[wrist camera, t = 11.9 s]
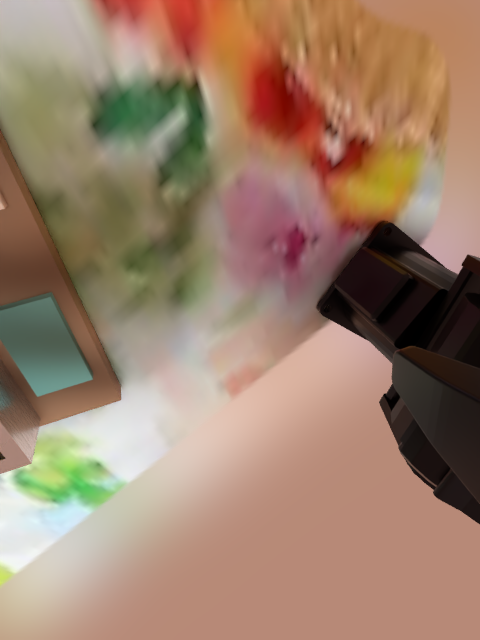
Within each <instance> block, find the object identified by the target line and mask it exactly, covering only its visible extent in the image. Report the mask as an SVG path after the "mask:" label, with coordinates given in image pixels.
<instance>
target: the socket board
mask: <svg viewBox="0 0 480 640" xmlns="http://www.w3.org/2000/svg"><path fill="white" fill-rule="evenodd" d="M0 358H1V360H2V361H3V363H4V364H5V366H6V367H7V369H8V370H9V372H10V373H11V375H12V376H13V378H14V379H15V381H16V382H17V384H18V385H19V387H20V388H21V390H22V391H23V393H24V394H25V396H26V397H27V399H28V400H29V402H30V403H31V405H32V406H33V408H34V409H35V411H36V412H37V414H38V415H39V417H40V418H41V420H40V425H39V426H43V425H46V424H49V423H52V422H55V421H58V420H61V419H64V418H67V417H70V416H73V415H76V414H79V413H82V412H86V411H89V410H92V409H95V408H98V407H101V406H104V405H107V404H110V403H113V402H116V401H119V400H121V386H120V384H119V382H118V380H117V377H116V375H115V373H114V371H113V369H112V367H111V365H110V362H109V360H108V358H107V356H106V354H105V352H104V350H103V348H102V345H101V343H100V341H99V339H98V337H97V335H96V333H95V330H94V328H93V326H92V324H91V322H90V320H89V318H88V316H87V313H86V311H85V309H84V307H83V305H82V303H81V301H80V298H79V296H78V294H77V292H76V290H75V288H74V286H73V284H72V281H71V279H70V277H69V275H68V273H67V271H66V269H65V266H64V264H63V262H62V260H61V258H60V256H59V254H58V252H57V249H56V247H55V245H54V243H53V241H52V239H51V237H50V234H49V232H48V230H47V228H46V226H45V224H44V222H43V220H42V217H41V215H40V213H39V211H38V209H37V207H36V205H35V202H34V200H33V198H32V196H31V194H30V192H29V190H28V188H27V185H26V183H25V181H24V179H23V177H22V175H21V173H20V170H19V168H18V166H17V164H16V162H15V160H14V158H13V156H12V153H11V151H10V149H9V147H8V145H7V143H6V141H5V138H4V136H3V134H2V132H1V130H0Z"/></svg>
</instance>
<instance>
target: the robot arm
mask: <svg viewBox="0 0 480 640" xmlns="http://www.w3.org/2000/svg"><path fill="white" fill-rule="evenodd" d="M386 228H387V231H386V232H385V233H384V230H385V229H386ZM462 266H463V268H462V269H461V271H460V273H459V274H456V273H454V272H452V271H450V270H449V269H447V268H445V267H444V266H443V265H442V264H441V263H440V262H438V261H437V260H436V259H435V258H434V257H432V256H431V255H430V254H429V253H428V252H426V251H425V250H424V249H423V248H422V247H420V246H419V245H418V244H417V243H416V242H414V241H413V240H412V239H411V238H410V237H408V236H407V235H406V234H405V233H404V232H402V231H401V230H400V229H399V228H398V227H396V226H395V225H394V224H392V223H390V222H388V221H383V222H381V223H380V224H379V225H378V226H377V227H376V229H375V230H374V231H373V233H372V234H371V235H370V237H369V238H368V239H367V241H366V242H365V243H364V244H363V246H362V247H361V248H360V250H359V251H358V252H357V254H356V255H355V256H354V258H353V259H352V260H351V261H350V263H349V264H348V265H347V267H346V268H345V269H344V271H343V272H342V273H341V275H340V276H339V277H338V279H337V280H336V281H335V282H334V284H333V285H332V286H331V288H330V289H329V290H328V292H327V293H326V294H325V296H324V297H323V298H322V299H321V301H320V302H319V304H318V306H317V309H318V311H319V312H320V313H321V314H322V315H323V316H325V317H326V318H328V319H330V320H332V321H334V322H335V323H337V324H339V325H341V326H343V327H345V328H346V329H348V330H350V331H352V332H353V333H355V334H357V335H359V336H361V337H363V338H364V339H366V340H368V341H370V342H371V343H372V344H373V345H374V346H375V347H376V348H377V349H378V350H379V351H380V352H381V353H382V354H383V355H384V356H385V357H386V358H387V359H388V360H389V361H390V362H391V363H392V364H393V366H392V383H393V384H392V385H391V387H390V389H389V390H388V392H387V393H386V394H384V395H383V397H382V398H381V400H380V402H379V403H380V406H381V408H382V410H383V412H384V414H385V417H386V419H387V421H388V423H389V425H390V428H391V430H392V432H393V434H394V437H395V439H396V441H397V443H398V445H399V450H400V452H401V454H402V456H403V457H404V459H405V460H406V462H407V464H408V465H409V466H410V468H411V469H412V471H413V473H414V474H415V475H417V476H418V477H419V478H420V479H421V480H422V481H423V482H425V483H426V484H427V485H428V486H430V487H431V488H432V489H433V490H434V492H433V493H434V495H435V496H436V497H437V498H438V499H440V500H442V501H443V502H445V503H447V504H449V505H451V506H452V507H455V508H456V509H458V510H460V511H462V512H463V513H464V514H466V515H467V516H469V517H470V518H471V519H473V520H475V521H476V522H477V523H479V524H480V258H478V257H475V256H471V255H467V257H466V258H465V260H464V262H463V263H462ZM327 305H328V307H327V308H326V309H324V308H325V307H326V306H327Z"/></svg>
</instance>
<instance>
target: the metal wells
mask: <svg viewBox="0 0 480 640" xmlns="http://www.w3.org/2000/svg"><path fill="white" fill-rule="evenodd" d="M40 420H41V418H40V417H39V415H38V414H37V412H36V411H35V409H34V408H33V406H32V405H31V403H30V402H29V400H28V399H27V397H26V396H25V394H24V393H23V391H22V390H21V388H20V387H19V385H18V384H17V382H16V381H15V379H14V378H13V376H12V375H11V373H10V372H9V370H8V369H7V367H6V366H5V364H4V363H3V361H2V360H1V358H0V474H1V473H4V472H7V471H10V470H13V469H16V468H19V467H22V466H25V465H28V464H31V463H32V459H33V455H34V450H35V445H36V440H37V435H38V430H39V425H40Z"/></svg>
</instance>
